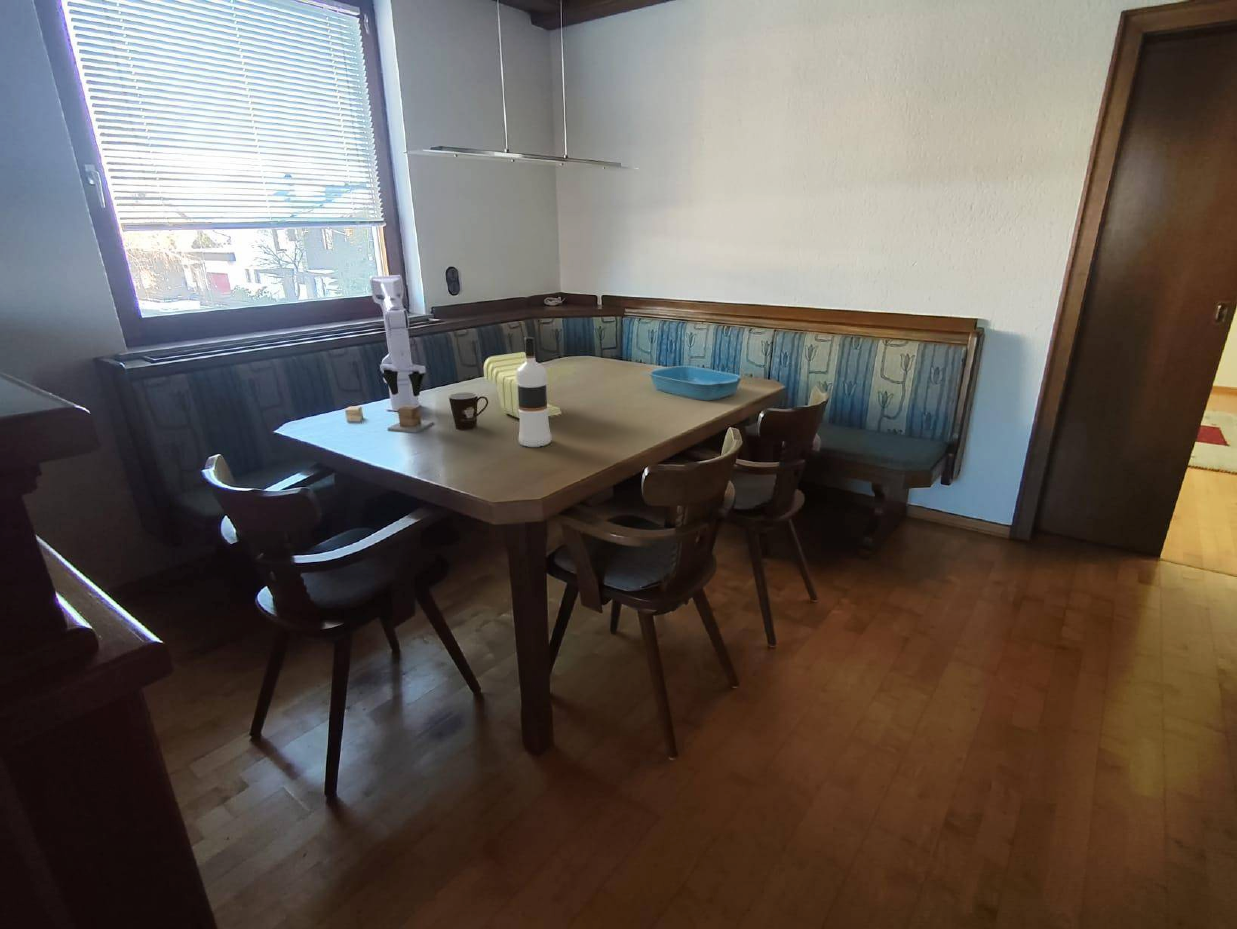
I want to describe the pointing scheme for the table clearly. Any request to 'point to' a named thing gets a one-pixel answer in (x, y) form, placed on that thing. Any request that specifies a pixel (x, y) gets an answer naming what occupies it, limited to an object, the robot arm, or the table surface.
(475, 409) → the coffee mug
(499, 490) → the table surface
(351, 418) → the maple block
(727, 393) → the casserole dish
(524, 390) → the vodka
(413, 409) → the walnut block
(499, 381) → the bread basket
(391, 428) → the slate coaster
